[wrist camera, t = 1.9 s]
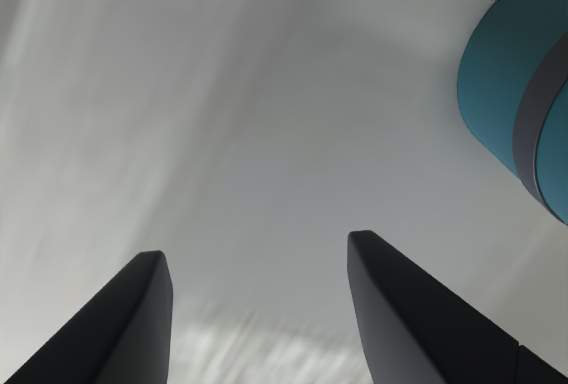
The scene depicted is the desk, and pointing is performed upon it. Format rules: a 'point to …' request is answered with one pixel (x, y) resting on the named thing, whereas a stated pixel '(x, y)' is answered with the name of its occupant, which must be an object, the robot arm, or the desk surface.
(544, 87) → the teal jar
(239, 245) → the desk surface
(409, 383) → the robot arm
